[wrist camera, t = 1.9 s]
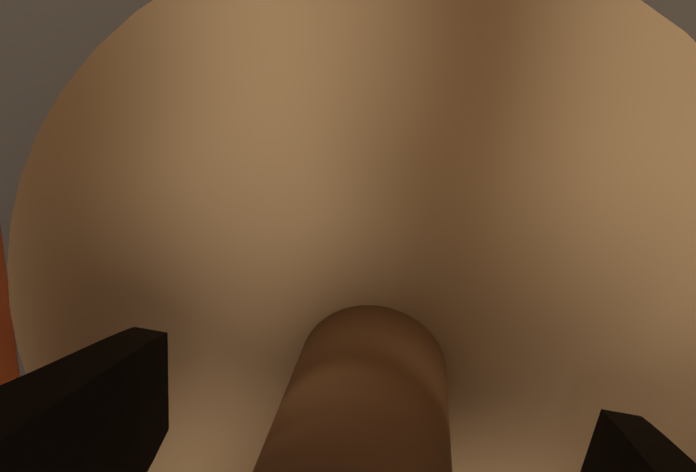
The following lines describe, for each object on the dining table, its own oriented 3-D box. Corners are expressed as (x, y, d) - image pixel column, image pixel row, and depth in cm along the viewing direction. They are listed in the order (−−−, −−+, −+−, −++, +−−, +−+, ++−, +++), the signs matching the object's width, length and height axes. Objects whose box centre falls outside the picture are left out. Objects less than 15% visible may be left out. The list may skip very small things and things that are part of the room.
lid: (59, 549, 14) (-99, 769, 10) (-18, -106, 9) (-425, -241, 5) (648, 674, 13) (759, 991, 9) (968, -14, 8) (1674, -88, 3)
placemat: (52, 545, 15) (43, 558, 14) (-28, -137, 9) (-47, -145, 9) (656, 676, 13) (663, 694, 13) (1001, -45, 8) (1029, -49, 7)
